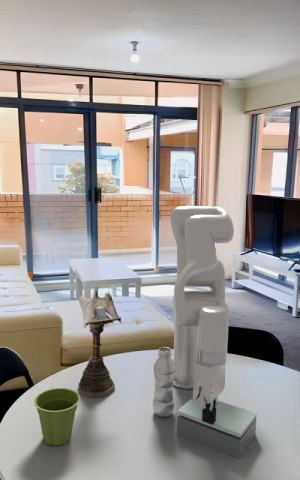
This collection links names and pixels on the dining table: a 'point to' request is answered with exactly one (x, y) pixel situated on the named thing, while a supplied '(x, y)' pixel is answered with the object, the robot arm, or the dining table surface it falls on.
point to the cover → (221, 416)
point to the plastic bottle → (164, 383)
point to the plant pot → (57, 414)
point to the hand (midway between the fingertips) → (208, 421)
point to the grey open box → (215, 436)
